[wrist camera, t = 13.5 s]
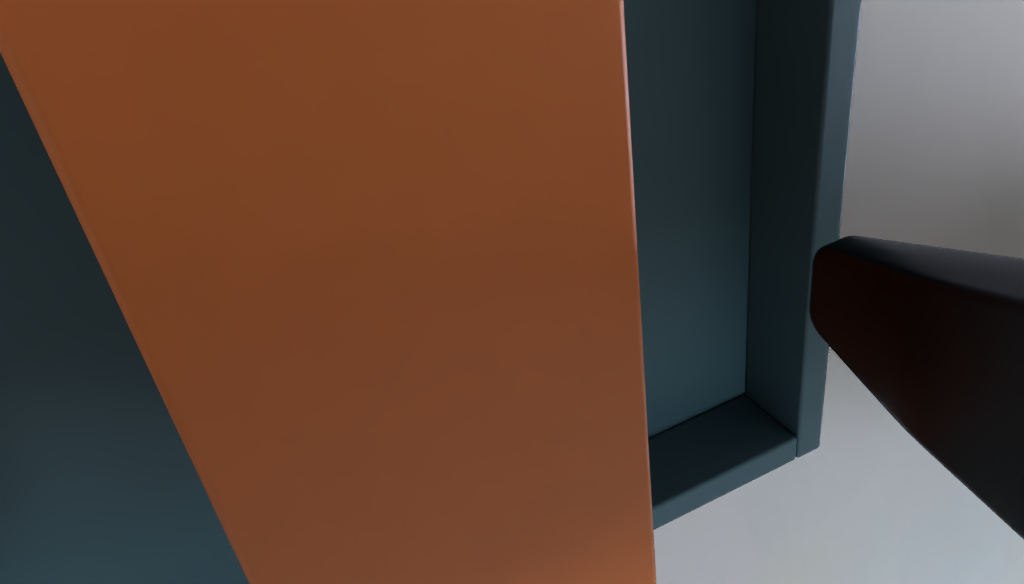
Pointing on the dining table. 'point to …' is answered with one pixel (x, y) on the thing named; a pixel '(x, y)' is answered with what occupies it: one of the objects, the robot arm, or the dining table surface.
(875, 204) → the dining table surface
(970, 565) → the dining table surface
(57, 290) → the dark teal tray
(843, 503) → the dining table surface
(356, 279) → the eraser
